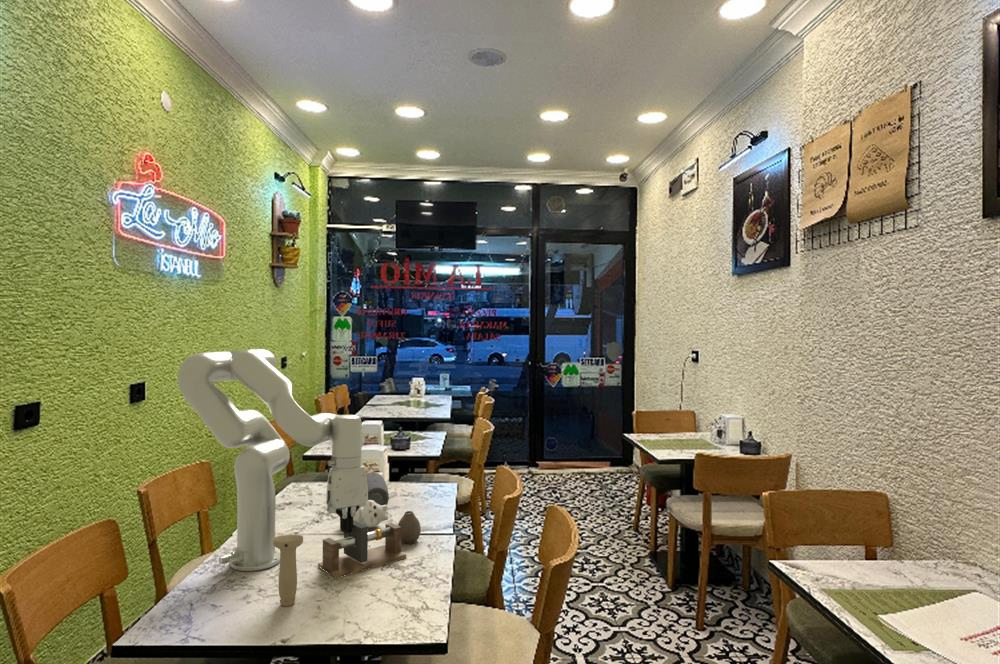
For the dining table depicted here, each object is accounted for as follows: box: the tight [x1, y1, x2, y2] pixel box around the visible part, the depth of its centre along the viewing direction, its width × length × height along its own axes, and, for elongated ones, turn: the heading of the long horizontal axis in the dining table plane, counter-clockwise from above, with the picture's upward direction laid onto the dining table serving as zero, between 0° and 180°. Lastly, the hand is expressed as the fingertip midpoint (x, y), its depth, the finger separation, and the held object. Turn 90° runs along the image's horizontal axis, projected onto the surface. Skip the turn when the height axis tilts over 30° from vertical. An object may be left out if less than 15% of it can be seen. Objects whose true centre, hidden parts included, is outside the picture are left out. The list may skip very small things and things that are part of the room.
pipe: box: [334, 527, 393, 550], centre depth 163 cm, size 18×3×3 cm, turn 133°
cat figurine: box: [346, 500, 389, 529], centre depth 192 cm, size 10×8×15 cm
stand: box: [317, 522, 407, 579], centre depth 163 cm, size 21×10×8 cm, turn 133°
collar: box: [343, 520, 369, 563], centre depth 162 cm, size 2×9×9 cm, turn 43°
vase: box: [397, 510, 421, 545], centre depth 180 cm, size 7×7×9 cm
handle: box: [273, 534, 304, 608], centre depth 138 cm, size 5×6×15 cm
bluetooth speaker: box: [366, 471, 390, 506], centre depth 216 cm, size 23×9×10 cm, turn 15°
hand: (346, 531), depth 160 cm, fingers closed
